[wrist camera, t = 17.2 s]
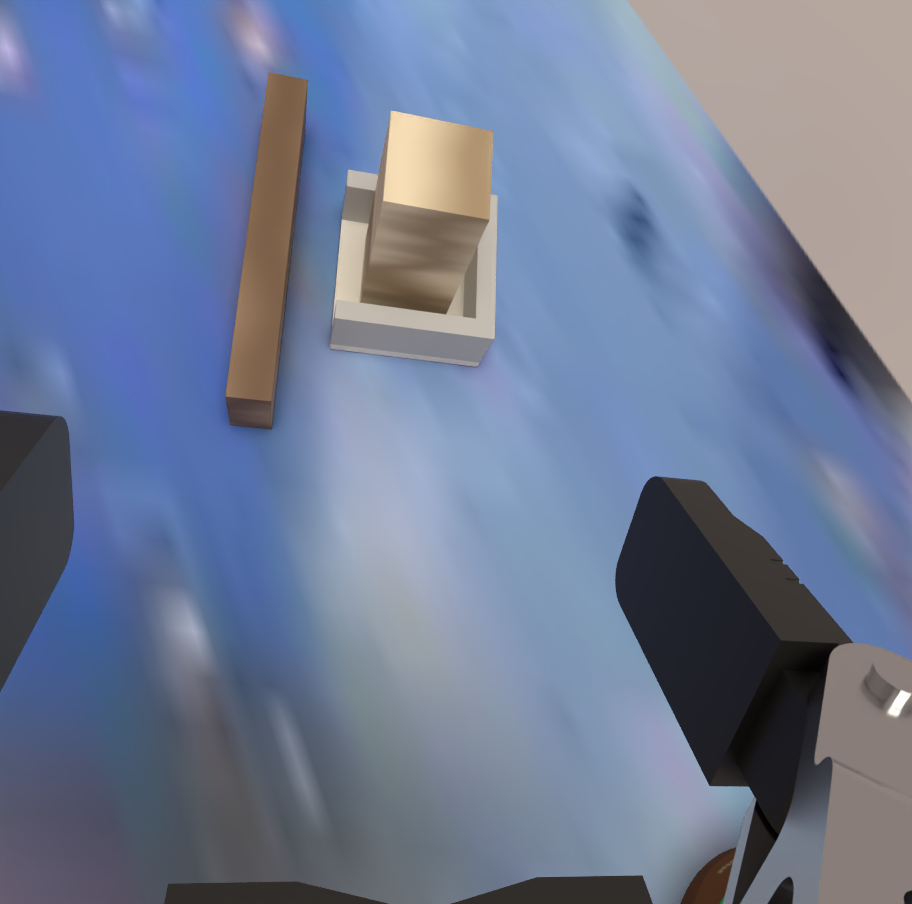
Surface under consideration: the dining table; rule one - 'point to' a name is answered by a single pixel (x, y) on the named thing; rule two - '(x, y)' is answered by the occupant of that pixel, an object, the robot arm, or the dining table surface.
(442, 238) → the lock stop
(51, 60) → the dining table surface
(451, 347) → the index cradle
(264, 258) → the rail
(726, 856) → the food container
